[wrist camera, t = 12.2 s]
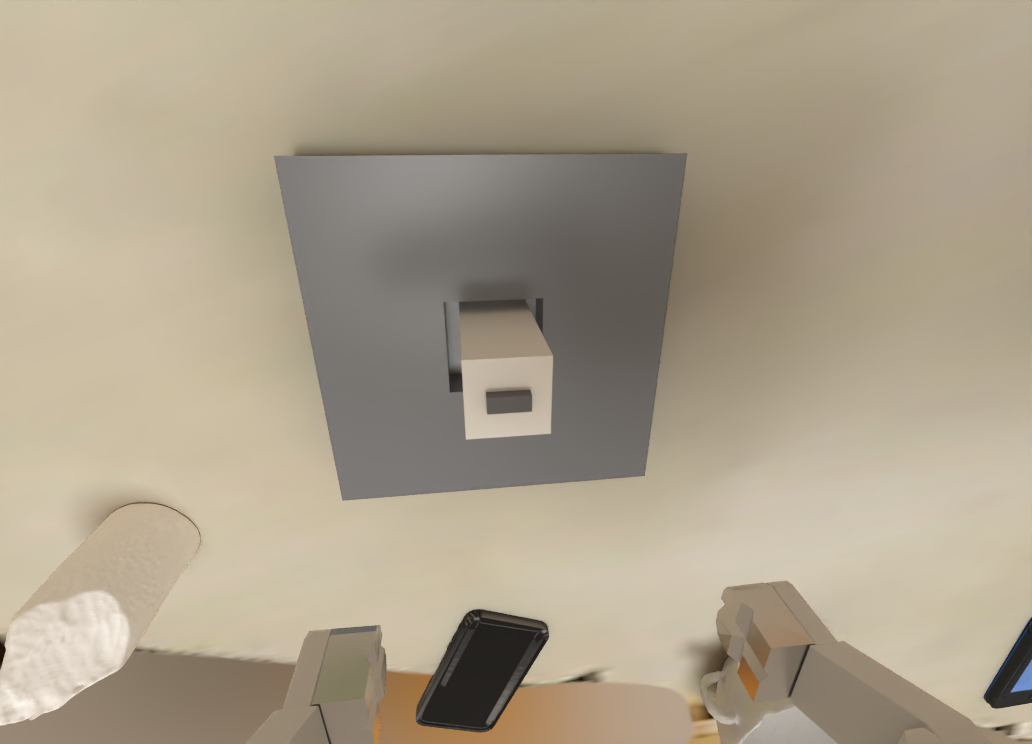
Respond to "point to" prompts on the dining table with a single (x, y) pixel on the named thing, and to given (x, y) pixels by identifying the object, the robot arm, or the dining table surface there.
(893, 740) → the robot arm
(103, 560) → the white bottle
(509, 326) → the charger plug
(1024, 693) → the handheld game console
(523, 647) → the phone
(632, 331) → the grey socket board
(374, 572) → the dining table surface
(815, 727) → the teacup
